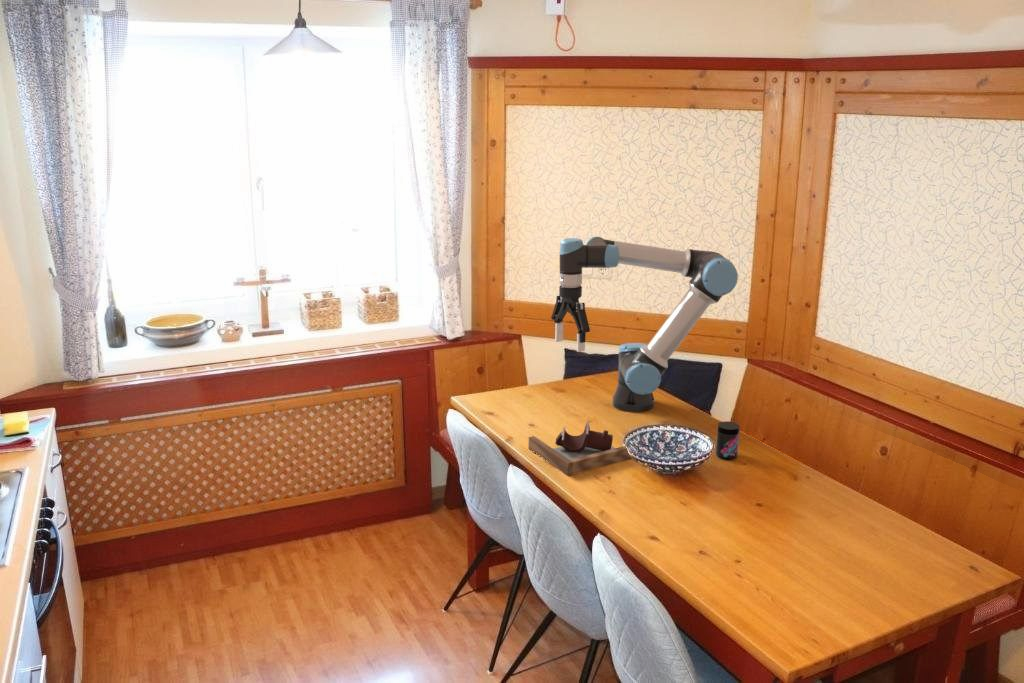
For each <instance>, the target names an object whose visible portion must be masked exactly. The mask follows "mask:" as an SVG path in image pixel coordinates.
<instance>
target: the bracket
mask: <svg viewBox="0 0 1024 683" xmlns="http://www.w3.org/2000/svg"><path fill="white" fill-rule="evenodd" d="M566 430H567V429H566V426H565V425H564V426H563V427H562V431H561V432H560V433H559V434H558V435H557V436H556V439H555V445H556V446H558V447H563V448H564V449H565V450H567V451H569V452H580V451H582V450H584V449H585V447H587V448H592V449H597V450H601V451H607V450H610V449H611V446H612V444H613V440H614V439H613V438H614V437H613V434H610V433H609V430H606V429H604V430H603V432H600V431H595V430H592V429H591V427H590V420H587V421H586V424H585V426H584V430H583V432H582V433H581V434H579V435H571V434H569V432H568V431H566Z"/></svg>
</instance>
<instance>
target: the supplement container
mask: <svg viewBox="0 0 1024 683" xmlns="http://www.w3.org/2000/svg"><path fill="white" fill-rule="evenodd" d="M716 429H717V431H716V432H717V433H716V448H715V454H716V457H717V458H719V459H720V460H726V461H732V460H735V459H736V458H737V457H738V453H739V440H740V439H739V438H740V431H741V430H740V429H741V425H740V424H738V423H736V422H734V421H726V420H725V421H720V422H718V423H717V428H716Z"/></svg>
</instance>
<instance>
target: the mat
mask: <svg viewBox="0 0 1024 683" xmlns="http://www.w3.org/2000/svg"><path fill="white" fill-rule="evenodd" d="M615 448H616V447H614V446H611V449H615ZM553 449H554V450H556V451H557V452H559V453H560V454H562V455H563V456H565V457H566V458H568V459H569V460H570V459H574V458H578V457H582V456H586V455H590V454H594V453H599V452H603V451H601V450H597V449H592V448H587V447H585V449H584V450H582V451H580V452H569V451H567V450H565V449H564V448H563V447H562V446H558V447H555V448H553ZM611 449H610V450H611Z"/></svg>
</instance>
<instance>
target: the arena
mask: <svg viewBox="0 0 1024 683" xmlns="http://www.w3.org/2000/svg"><path fill="white" fill-rule="evenodd" d="M626 446H627V445H624V446H620V447H614V448H615V449H611V450H607V451H603V452H599V453H594V454H590V455H586V456H582V457H578V458H574V459H570V460H569V459H568V458H566V457H565V456H563V455H562V454H560V453H559V452H557V451H556V450H554V448H553V447H551V446H550V445H548V444H546V443H545V442H544V441H542V440H541V439H539V437H536V436H535V435H532V436H528V449H529V450H530V449H531V450H532V452H533V451H534V452H535V453H537V454H538V455H540V456H541V457H543V458H544V459H545V460H544V459H543V458H542V459H543V460H544V461H546V460H547V461H548V462H549V464H550V463H551V464H552V466H553V467H554V466H555V467H554V468H555V469H557V470H558V469H559V470H558V471H559V472H561V471H562V472H561V473H562V474H564V475H566V476H567V477H568V476H572V475H575V474H580V473H584V472H587V471H591V470H595V469H598V468H603V467H606V466H610V465H615V464H618V463H622V462H626V461H630V460H633V456H632V457H631V456H630V455H629V453H628V451H627V448H626ZM531 450H530V451H531ZM534 452H533V453H534ZM535 453H534V454H535ZM537 454H536V455H537ZM538 455H537V456H538ZM540 456H539V457H540ZM541 457H540V458H541ZM547 461H546V462H547ZM548 462H547V463H548ZM551 464H550V465H551Z"/></svg>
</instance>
